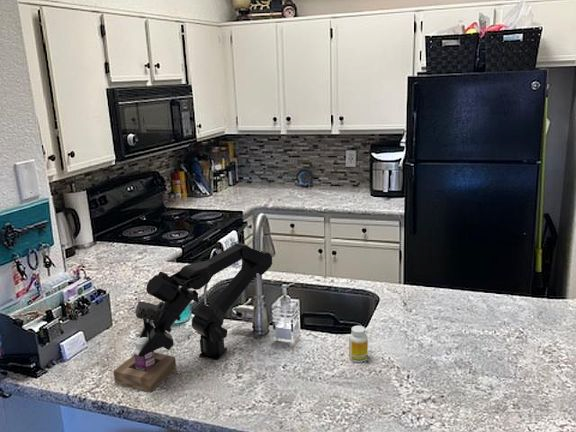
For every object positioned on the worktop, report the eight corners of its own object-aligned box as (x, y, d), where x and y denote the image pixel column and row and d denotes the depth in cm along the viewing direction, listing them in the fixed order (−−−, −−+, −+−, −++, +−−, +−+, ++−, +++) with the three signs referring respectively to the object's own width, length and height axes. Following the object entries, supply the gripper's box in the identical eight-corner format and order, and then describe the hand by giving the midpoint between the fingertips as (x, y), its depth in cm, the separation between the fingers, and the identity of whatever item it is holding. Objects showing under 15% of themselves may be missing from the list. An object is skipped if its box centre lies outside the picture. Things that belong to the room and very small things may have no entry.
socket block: (176, 369, 151) (174, 356, 150) (150, 392, 141) (149, 379, 140) (142, 361, 156) (140, 349, 155) (115, 383, 145) (113, 370, 144)
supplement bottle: (345, 356, 155) (345, 327, 152) (360, 351, 157) (360, 322, 154) (355, 364, 150) (355, 334, 147) (371, 360, 152) (371, 330, 150)
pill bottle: (150, 377, 145) (146, 346, 142) (133, 375, 146) (128, 344, 143) (159, 366, 150) (155, 336, 147) (142, 365, 151) (137, 335, 148)
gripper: (146, 280, 151) (111, 322, 150) (156, 305, 134) (117, 353, 134) (176, 299, 156) (142, 341, 155) (189, 326, 139) (152, 373, 139)
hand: (138, 351), depth 146 cm, fingers closed on pill bottle, 5 cm apart
